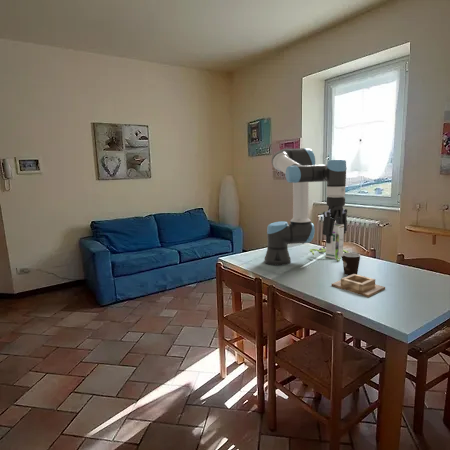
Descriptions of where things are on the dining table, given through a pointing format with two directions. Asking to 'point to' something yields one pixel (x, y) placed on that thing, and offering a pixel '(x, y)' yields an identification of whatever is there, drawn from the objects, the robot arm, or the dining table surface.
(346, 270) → the coffee mug
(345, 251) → the figurine
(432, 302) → the dining table surface
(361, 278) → the wooden socket base
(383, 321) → the dining table surface
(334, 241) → the syrup box
